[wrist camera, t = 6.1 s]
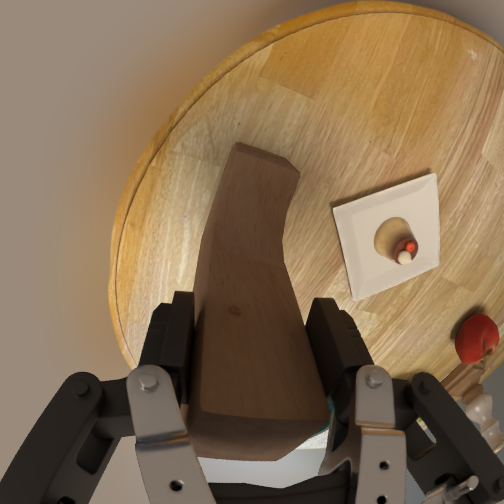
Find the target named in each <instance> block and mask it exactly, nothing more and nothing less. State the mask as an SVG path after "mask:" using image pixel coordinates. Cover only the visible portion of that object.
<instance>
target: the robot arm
mask: <svg viewBox="0 0 504 504" xmlns="http://www.w3.org/2000/svg"><path fill="white" fill-rule="evenodd" d="M305 329H306V332H307V335H308V338H309V342H310V345H311V348H312V352H313V355H314V358H315V362H316V365H317V368H318V372H319V375H320V378H321V382H322V385H323V389H324V392H325V396H326V399H327V403H331V402H333V406H334V409H333V410H332V412H331V416H330V425H329V433H328V440H327V447H326V454H325V457H324V460H323V462H322V464H321V466H320V469H319V473H318V476H315V477H313V478H311V479H308V480H305V481H303V482H300V483H297V484H294V485H292V486H289V487H286V488H272V487H264V486H259V485H253V484H247V483H207V481H206V478H205V476H204V473H203V471H202V468H201V466H200V463H199V461H198V458H197V455H196V453H195V450H194V447H193V444H192V442H191V439H190V437H189V435H188V433H187V430H186V428H185V424H184V421H183V418H182V415H181V412H180V410H181V404H187V405H188V396H189V384H190V372H191V361H192V351H193V341H194V332H195V301H194V292H186V291H175V293H174V297H173V301H172V304H169V303H161V304H160V305H159V306H158V307H157V308H156V309H155V310H154V311H153V314H152V317H151V321H150V324H149V328H148V332H147V335H146V338H145V342H144V346H143V350H142V353H141V357H140V361H139V364H138V367H137V368H135V369H134V370H132V371H131V372H130V374H129V375H128V376H127V377H125V378H123V379H118V380H110V381H101V382H100V380H99V379H98V378H97V377H96V376H95V375H93V374H91V373H88V372H77V373H74V374H72V375H71V376H69V377H68V378H67V379H66V380H65V382H64V383H63V384H62V386H61V387H60V388H59V390H58V391H57V393H56V394H55V396H54V397H53V398H52V400H51V401H50V403H49V404H48V406H47V407H46V408H45V410H44V412H43V413H42V414H41V416H40V417H39V419H38V420H37V422H36V424H35V425H34V427H33V428H32V430H31V431H30V433H29V434H28V436H27V437H26V439H25V441H24V442H23V444H22V445H21V447H20V449H19V450H18V452H17V454H16V455H15V457H14V459H13V460H12V462H11V464H10V466H9V467H8V469H7V471H6V473H5V475H4V476H3V478H2V480H1V482H0V504H88V503H89V501H90V499H91V497H92V495H93V493H94V491H95V489H96V487H97V485H98V482H99V481H100V479H101V477H102V474H103V473H104V471H105V469H106V467H107V464H108V463H109V461H110V459H111V457H112V455H113V453H114V451H115V449H116V447H117V445H118V443H119V441H120V439H121V437H125V436H133V435H135V436H136V444H135V450H136V455H137V459H138V463H139V467H140V471H141V474H142V478H143V482H144V485H145V489H146V492H147V495H148V498H149V501H150V504H405V500H406V499H405V498H406V467H407V469H408V470H409V472H410V473H411V475H412V476H413V478H414V479H415V481H416V482H417V484H418V485H419V487H420V488H421V490H422V491H423V493H424V494H425V496H426V498H425V500H424V501H423V502H422V504H496V503H498V502H500V501H502V500H503V499H504V465H503V464H502V463H501V461H500V460H499V458H498V457H497V455H496V454H495V453H494V451H493V450H492V449H491V447H490V446H489V444H488V443H487V442H486V440H485V439H484V438H483V436H482V435H481V434H480V433H479V431H478V430H477V428H476V427H475V426H474V425H473V423H472V422H471V421H470V419H469V418H468V417H467V416H466V414H465V413H464V412H463V411H462V409H461V408H460V407H459V406H458V404H457V403H456V402H455V401H454V399H453V398H452V397H451V396H450V394H449V393H448V392H447V391H446V390H445V388H444V387H443V386H442V385H441V384H440V382H439V381H438V380H437V379H436V378H435V377H434V376H433V375H431V374H429V373H425V372H420V373H417V374H415V375H414V376H413V378H412V379H411V380H410V381H408V380H400V379H394V378H391V376H390V375H389V373H388V372H387V371H386V370H385V369H383V368H382V367H380V366H377V365H374V363H373V360H372V358H371V356H370V354H369V352H368V349H367V347H366V345H365V343H364V341H363V339H362V337H361V334H360V332H359V330H357V326H356V324H355V322H354V320H353V318H352V317H351V316H350V315H349V314H348V313H347V312H346V311H345V310H339V308H338V306H337V304H336V302H335V300H334V298H314V300H313V302H312V306H311V309H310V312H309V315H308V318H307V322H306V325H305ZM419 418H421V419H422V421H423V422H424V423H425V425H426V426H427V427H428V429H429V430H430V431H431V433H432V434H433V435H434V437H435V438H436V442H437V443H433V442H432V441H431V440H430V439H429V437H428V436H427V434H426V433H425V432H424V430H423V429H422V428H421V426H420V425H419V423H418V422H417V420H418V419H419Z"/></svg>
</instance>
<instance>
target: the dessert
mask: <svg viewBox="0 0 504 504" xmlns="http://www.w3.org/2000/svg"><path fill="white" fill-rule="evenodd" d="M333 213H334V217H335V221H336V225H337V229H338V233H339V237H340V241H341V245H342V250H343V254H344V258H345V263H346V267H347V272H348V277H349V282H350V287H351V292H352V297H353V302H357V301H360V300H362V299H365V298H367V297H370V296H372V295H375V294H377V293H379V292H382V291H384V290H386V289H389V288H391V287H393V286H396V285H398V284H400V283H403V282H405V281H407V280H409V279H411V278H414V277H416V276H418V275H420V274H422V273H424V272H427V271H429V270H431V269H433V268H435V267H437V266H439V250H440V226H439V201H438V187H437V176H436V173H432V174H429V175H426V176H423V177H420V178H417V179H414V180H411V181H409V182H406V183H403V184H400V185H397V186H394V187H391V188H388V189H386V190H383V191H380V192H377V193H374V194H371V195H369V196H366V197H363V198H360V199H357V200H355V201H352V202H349V203H346V204H343V205H341V206H338V207H335V208H333Z"/></svg>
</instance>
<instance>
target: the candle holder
mask: <svg viewBox="0 0 504 504" xmlns="http://www.w3.org/2000/svg"><path fill="white" fill-rule="evenodd" d="M484 367H485V364H484V362H483V360H481V361H480V362H475V363H471V364H464V363H461V364H460V365H459V366H458V367H457V368H456V369H455V370H454V371H453V372H452V373H451V374H450V375H449V376H447V377H446V378H445V379H444V380H443V381H442V382H441V383H440V384H441V385H442V386H443V387H444V388H445V390H446V391H447V392H448V393H449V394H450V396H456V397H459V396H462V403H463V404H466V405H467V408H466V410H465V414H466V416H467V417H468V418H469V419H470V420H472V421H474V422H477V423H478V424H479V425H480V426H481V435H482V436H483V437H484V438H486V440H487V443H488V444H489V446H490V447H491V449H492V450H493V451H494V453H496V452H497V451H499V450H500V449H501V448H503V447H504V434H502V433H501V432H500V431H499V421H497V420H496V419H494V418H493V417H492V397H491V395H490V394H489V393H483V385H481V384H478V382H479V380H480V377H481V376H482V375H483V374H484V372H485V370H484Z"/></svg>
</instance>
